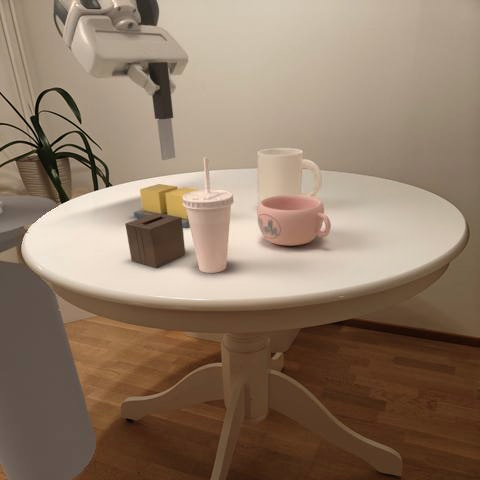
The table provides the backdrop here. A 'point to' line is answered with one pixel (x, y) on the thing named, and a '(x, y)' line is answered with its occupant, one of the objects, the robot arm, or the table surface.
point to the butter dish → (144, 213)
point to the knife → (163, 108)
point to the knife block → (155, 239)
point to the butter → (165, 199)
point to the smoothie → (209, 224)
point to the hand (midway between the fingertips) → (163, 91)
